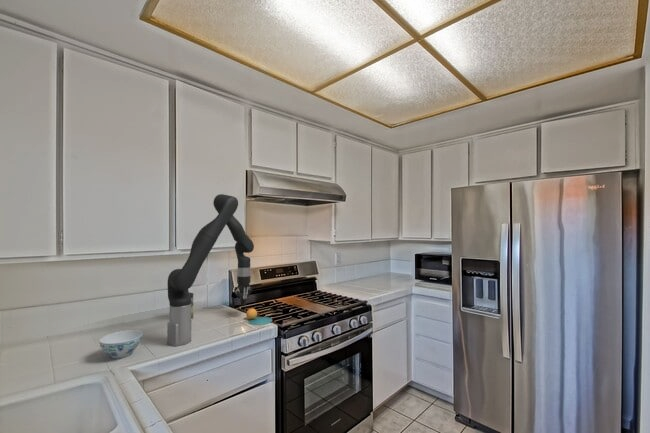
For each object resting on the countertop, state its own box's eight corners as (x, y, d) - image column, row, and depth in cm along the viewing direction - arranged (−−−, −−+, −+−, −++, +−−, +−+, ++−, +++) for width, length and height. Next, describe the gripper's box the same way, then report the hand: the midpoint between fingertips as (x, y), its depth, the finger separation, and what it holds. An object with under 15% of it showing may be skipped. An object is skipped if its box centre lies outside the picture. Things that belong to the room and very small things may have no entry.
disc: (261, 326, 164) (261, 325, 164) (243, 322, 171) (243, 322, 171) (277, 319, 175) (277, 319, 175) (259, 316, 182) (259, 315, 182)
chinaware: (130, 345, 140) (130, 327, 140) (149, 352, 132) (149, 334, 132) (91, 358, 127) (92, 338, 127) (110, 366, 119) (110, 346, 119)
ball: (242, 317, 176) (250, 323, 173) (245, 308, 174) (253, 314, 171) (250, 313, 181) (257, 318, 179) (252, 304, 179) (260, 310, 177)
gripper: (240, 277, 172) (239, 308, 171) (256, 274, 183) (256, 303, 183) (230, 276, 175) (229, 307, 175) (247, 273, 187) (246, 302, 187)
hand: (243, 305), depth 179 cm, fingers closed
